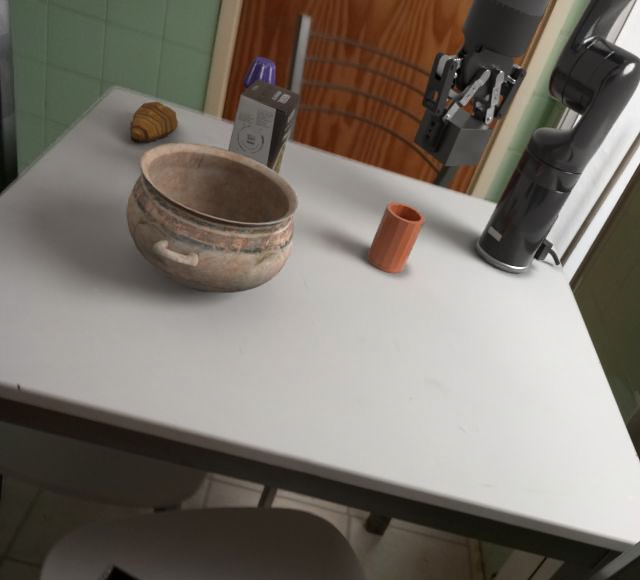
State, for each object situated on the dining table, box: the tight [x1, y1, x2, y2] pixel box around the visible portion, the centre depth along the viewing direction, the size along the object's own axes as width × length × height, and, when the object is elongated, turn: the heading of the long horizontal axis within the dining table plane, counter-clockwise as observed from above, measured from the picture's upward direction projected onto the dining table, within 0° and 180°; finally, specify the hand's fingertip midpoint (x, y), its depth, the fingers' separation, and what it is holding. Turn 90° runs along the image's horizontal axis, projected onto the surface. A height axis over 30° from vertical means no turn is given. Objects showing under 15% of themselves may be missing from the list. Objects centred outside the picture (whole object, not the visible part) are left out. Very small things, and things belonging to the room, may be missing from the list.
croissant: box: [129, 101, 179, 144], centre depth 105 cm, size 14×7×5 cm, turn 165°
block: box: [412, 105, 494, 167], centre depth 83 cm, size 6×6×4 cm
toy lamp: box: [242, 56, 276, 90], centre depth 101 cm, size 5×5×17 cm
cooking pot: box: [125, 142, 300, 294], centre depth 79 cm, size 25×19×12 cm
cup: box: [366, 201, 426, 274], centre depth 97 cm, size 6×6×8 cm
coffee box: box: [227, 79, 301, 175], centre depth 93 cm, size 9×6×16 cm
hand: (447, 149), depth 84 cm, fingers closed on block, 6 cm apart
